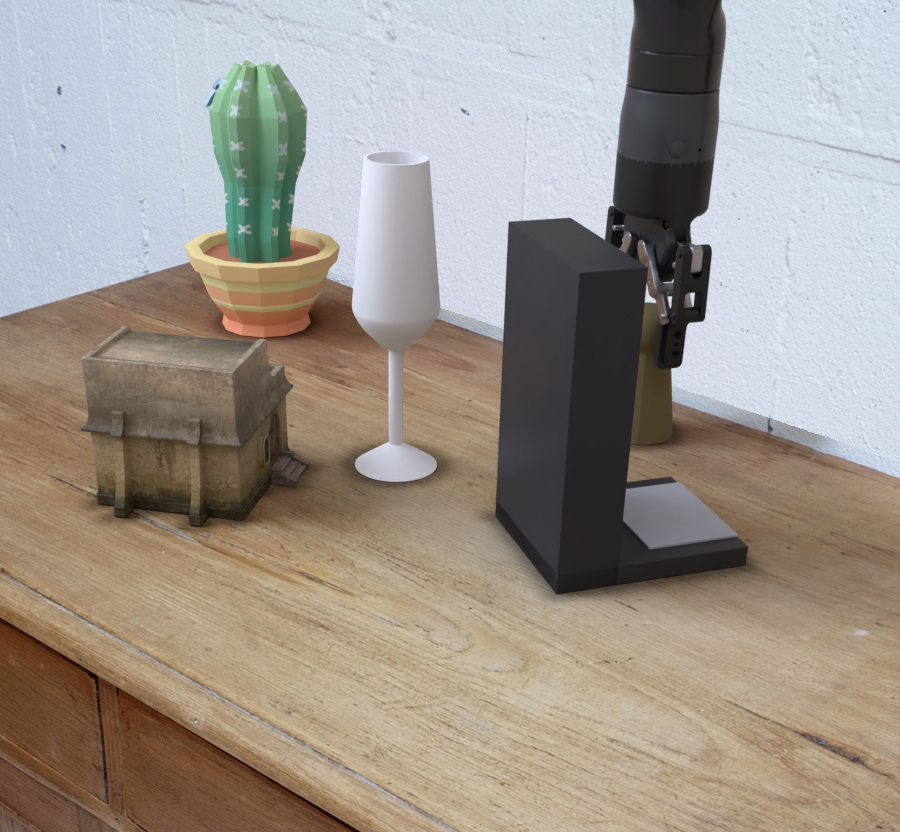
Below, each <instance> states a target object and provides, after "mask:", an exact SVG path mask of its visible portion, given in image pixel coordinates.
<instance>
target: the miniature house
mask: <svg viewBox="0 0 900 832" xmlns="http://www.w3.org/2000/svg"><path fill="white" fill-rule="evenodd" d="M80 360H81V368H82V375H83V383H84V389H85V390H84V391H85V400H86V407H87V419H86V422H85V423H84V425H82V427H81V428H80V432H86V433H90V438H91V439H90V440H91V446H92V447H91V448H92V454H93V463H94V470H95V471H94V472H95V477H96V479H95V480H96V486H97V492H96V494H95V495H96V503H97V504H98V505H104V506H112V507H113V514H114V517H115V518H123V519H126V518H127V517H128V516H129V515H130V514H131V513H132V512H133V511H134V510H135V509H138V510H147V511H157V512H164V513H171V514H172V513H173V514H181V515H188V525H189V526H192V527H199V528H200V527H202V526H203V524H204V523H205V522H206V521H207V520H208V519H209V518H215V519H224V520H225V519H226V520H234V521H244V520H246V518H247V517H248V515H250V513H252V511H253V509H254V508H255V506H256V505H257V504H258V502H259V501H260V499H262V497H263V496H264V495H265V493H266V492H267V491H268V489H269V488H270V486H271V485H272V484H273V485H282V486H290V487H291V486H292V487H298V486H299V479H300V477H301V476H302V474H303V473H304V472H305V470H307V469H309V470H310V469H311V467H312V465H311V464H312V462H311V461H307V460H305V459H303V458H302V457H300V456H298V455H296V454H295V451H293V450H291V449H290V448H289V440H288V439H289V438H288V437H289V436H288V435H289V434H288V415H287V395H288V394H289V393H290V391H292V389H293V388H294V384H293V383H291V382H289V380H288V379H287V376H286V372H285V370H286V369H285V364H281V363H272V362H270V361H269V351H268V341H267V339H264V338H258V339H257V340H255V342H254V341H244V340H236V339H235V340H233V339H225V338H224V339H221V338H213V337H202V336H201V337H200V336H190V335H180V334H179V335H178V334H169V333H157V332H148V331H138V330H137V331H136V330H135V331H134V330H132V328H131V327H130V326H120V327H119V329H117V330H116V331H115V332H113V333H112V334H111V335H109V336H108V337H106V338H105V339H104V340H103V341H101V342H100V343H99V344H98V345H96V346H95V347H94V348H92V349H91V350H89V352H87V353H86V354H84V355H83V356H82V357H81V358H80Z"/></svg>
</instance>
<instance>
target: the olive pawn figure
mask: <svg viewBox="0 0 900 832" xmlns="http://www.w3.org/2000/svg"><path fill="white" fill-rule="evenodd" d="M670 309H671V307H670ZM659 322H660V320H659V315H658V310H657V304H656V302H650V301H649V302H647V301H645V305H644V315H643V325H642V335H641V345H640V355H639V365H638V375H637V385H636V395H635V405H634V415H633V425H632V435H631V445H635V446H636V445H637V446H649V445H656V444H657V445H658V444H661V443H665V442H667V441H669V440H670V439H671V438H672V436H673V433H674V426H673V425H674V423H673V422H674V421H673V420H674V419H673V380H672V379H673V378H672V377H673V376H672V374H673V373H672V368H671V369H660V368H658V367H657V366H656V365H655V364H654V357H655V348H656V339H657V330H658V323H659Z"/></svg>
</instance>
